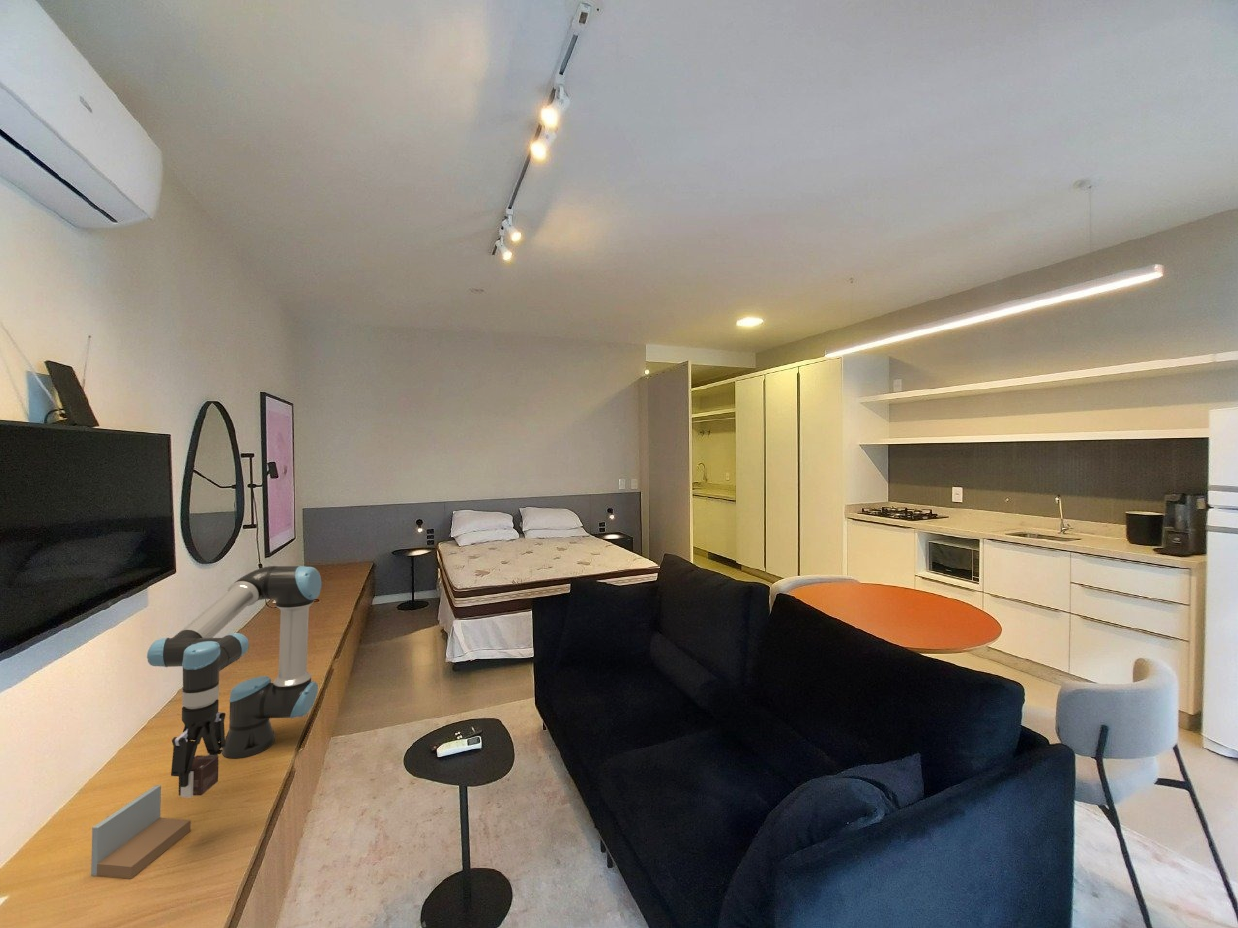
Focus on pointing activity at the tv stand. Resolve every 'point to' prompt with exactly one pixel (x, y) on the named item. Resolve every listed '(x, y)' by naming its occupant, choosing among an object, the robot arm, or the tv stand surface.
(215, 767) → the box
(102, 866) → the board
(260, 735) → the robot arm
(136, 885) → the tv stand surface
